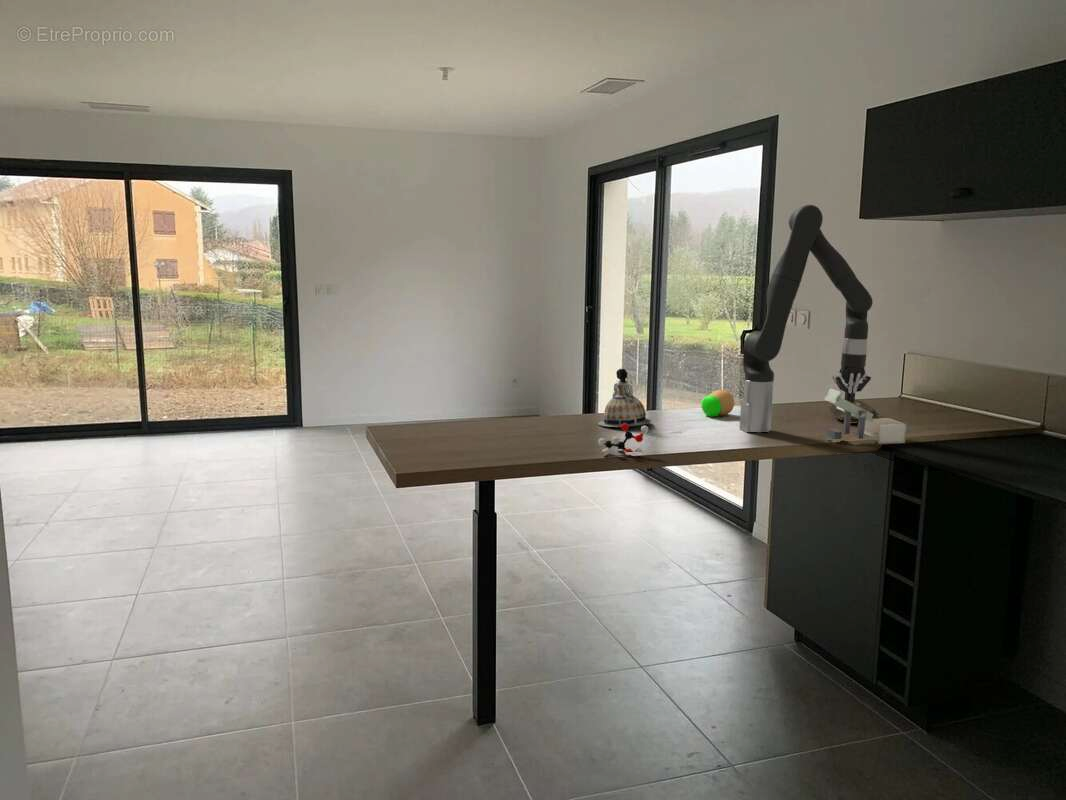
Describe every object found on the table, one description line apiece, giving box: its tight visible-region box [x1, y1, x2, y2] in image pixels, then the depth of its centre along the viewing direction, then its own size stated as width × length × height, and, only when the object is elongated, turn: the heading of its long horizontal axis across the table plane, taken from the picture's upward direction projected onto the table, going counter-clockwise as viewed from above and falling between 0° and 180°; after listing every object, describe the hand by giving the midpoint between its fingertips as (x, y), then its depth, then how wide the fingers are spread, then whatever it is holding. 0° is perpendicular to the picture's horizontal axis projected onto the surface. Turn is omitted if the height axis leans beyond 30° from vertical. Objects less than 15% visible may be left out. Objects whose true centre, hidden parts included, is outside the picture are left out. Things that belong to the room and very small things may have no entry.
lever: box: [824, 388, 874, 422], centre depth 255 cm, size 17×17×4 cm
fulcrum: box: [825, 410, 876, 447], centre depth 251 cm, size 11×13×10 cm
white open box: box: [864, 417, 908, 445], centre depth 252 cm, size 9×9×6 cm
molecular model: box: [598, 423, 649, 453], centre depth 233 cm, size 16×8×10 cm, turn 88°
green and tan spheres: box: [701, 389, 735, 418], centre depth 288 cm, size 11×10×12 cm
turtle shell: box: [827, 399, 884, 423], centre depth 280 cm, size 16×9×20 cm
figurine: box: [598, 367, 653, 428], centre depth 271 cm, size 18×18×20 cm
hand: (849, 403), depth 262 cm, fingers closed
